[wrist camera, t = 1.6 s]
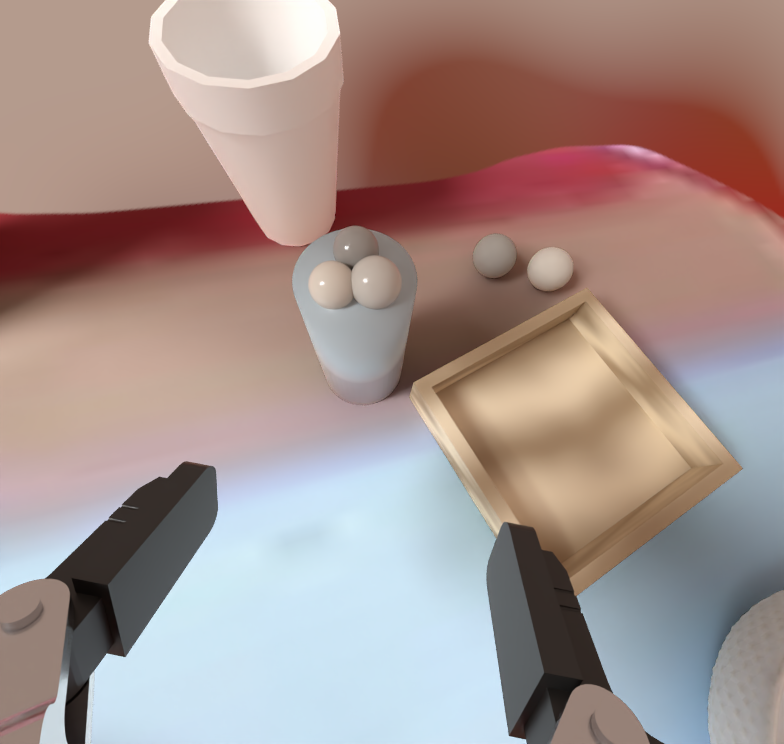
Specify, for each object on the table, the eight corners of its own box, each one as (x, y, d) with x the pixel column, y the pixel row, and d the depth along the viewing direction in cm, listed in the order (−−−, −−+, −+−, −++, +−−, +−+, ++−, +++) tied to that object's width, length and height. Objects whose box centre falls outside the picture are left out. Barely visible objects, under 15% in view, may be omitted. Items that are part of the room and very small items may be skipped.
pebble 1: (460, 262, 30) (470, 234, 27) (493, 246, 31) (505, 217, 28) (483, 292, 29) (495, 267, 26) (516, 275, 30) (532, 249, 27)
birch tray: (409, 397, 26) (413, 382, 23) (565, 310, 29) (587, 287, 26) (532, 597, 22) (557, 610, 19) (698, 473, 25) (742, 468, 22)
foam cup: (238, 176, 32) (155, -26, 20) (346, 167, 33) (328, -32, 21) (240, 269, 29) (143, 95, 17) (359, 256, 30) (348, 82, 18)
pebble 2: (512, 274, 30) (528, 248, 27) (544, 258, 31) (562, 231, 28) (537, 305, 29) (556, 282, 26) (569, 288, 30) (591, 263, 27)
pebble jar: (311, 354, 27) (261, 232, 15) (377, 321, 28) (379, 183, 16) (347, 419, 25) (322, 339, 14) (415, 381, 27) (447, 278, 15)
